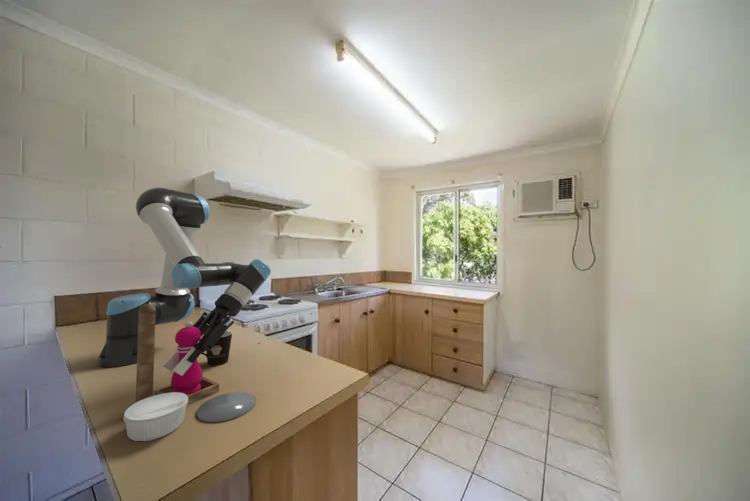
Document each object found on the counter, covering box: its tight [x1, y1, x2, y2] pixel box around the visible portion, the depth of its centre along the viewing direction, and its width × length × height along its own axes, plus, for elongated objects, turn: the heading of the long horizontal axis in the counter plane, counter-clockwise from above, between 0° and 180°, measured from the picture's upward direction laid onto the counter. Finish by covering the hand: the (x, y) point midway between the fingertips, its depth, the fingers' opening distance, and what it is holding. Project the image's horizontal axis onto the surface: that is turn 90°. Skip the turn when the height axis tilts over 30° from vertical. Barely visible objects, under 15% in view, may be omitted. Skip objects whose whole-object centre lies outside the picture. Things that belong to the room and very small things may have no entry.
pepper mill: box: [170, 320, 204, 395], centre depth 74 cm, size 7×7×20 cm
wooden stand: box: [135, 304, 220, 406], centre depth 72 cm, size 18×12×26 cm, turn 150°
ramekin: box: [122, 392, 188, 442], centre depth 60 cm, size 11×11×5 cm
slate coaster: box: [196, 391, 257, 423], centre depth 68 cm, size 13×13×1 cm
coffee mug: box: [198, 330, 233, 367], centre depth 97 cm, size 12×9×10 cm
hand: (172, 370), depth 71 cm, fingers closed on pepper mill, 5 cm apart
